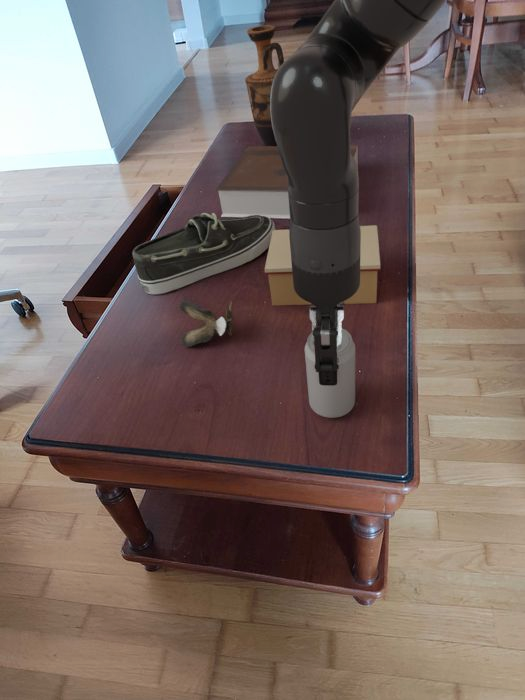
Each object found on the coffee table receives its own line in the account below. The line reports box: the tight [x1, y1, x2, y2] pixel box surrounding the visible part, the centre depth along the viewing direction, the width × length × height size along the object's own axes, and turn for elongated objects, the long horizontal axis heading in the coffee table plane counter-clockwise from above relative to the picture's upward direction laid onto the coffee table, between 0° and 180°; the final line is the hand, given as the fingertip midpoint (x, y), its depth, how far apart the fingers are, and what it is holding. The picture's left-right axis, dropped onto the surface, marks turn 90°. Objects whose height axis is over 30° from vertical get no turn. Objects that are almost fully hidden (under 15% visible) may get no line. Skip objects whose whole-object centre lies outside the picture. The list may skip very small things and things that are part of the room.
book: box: [215, 144, 359, 220], centre depth 121 cm, size 24×28×6 cm
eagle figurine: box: [178, 300, 234, 348], centre depth 85 cm, size 8×7×9 cm
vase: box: [244, 24, 285, 146], centre depth 133 cm, size 11×11×30 cm
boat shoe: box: [132, 212, 277, 295], centre depth 100 cm, size 11×31×10 cm, turn 125°
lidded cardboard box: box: [264, 224, 382, 306], centre depth 91 cm, size 19×13×8 cm
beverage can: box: [304, 328, 356, 419], centre depth 68 cm, size 6×6×12 cm
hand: (329, 359), depth 66 cm, fingers open, 8 cm apart
